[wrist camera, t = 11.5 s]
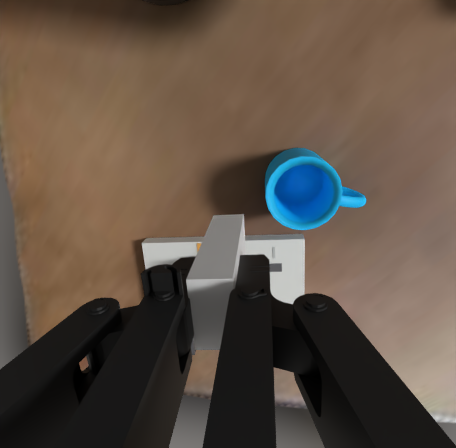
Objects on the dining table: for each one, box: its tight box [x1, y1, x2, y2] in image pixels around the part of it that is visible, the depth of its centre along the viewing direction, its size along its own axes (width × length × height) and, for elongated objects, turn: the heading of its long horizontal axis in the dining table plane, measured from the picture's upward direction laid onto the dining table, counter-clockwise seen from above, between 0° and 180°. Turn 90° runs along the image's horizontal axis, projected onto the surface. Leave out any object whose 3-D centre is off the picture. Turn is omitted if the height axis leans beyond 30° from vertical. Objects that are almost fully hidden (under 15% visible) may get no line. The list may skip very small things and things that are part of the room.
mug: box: [265, 148, 366, 230], centre depth 41 cm, size 12×8×8 cm
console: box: [142, 234, 305, 304], centre depth 50 cm, size 16×22×2 cm
